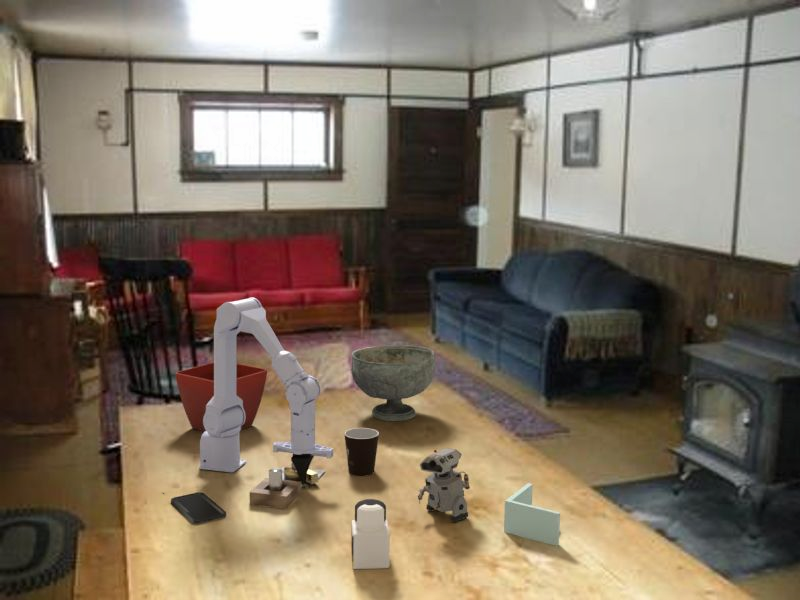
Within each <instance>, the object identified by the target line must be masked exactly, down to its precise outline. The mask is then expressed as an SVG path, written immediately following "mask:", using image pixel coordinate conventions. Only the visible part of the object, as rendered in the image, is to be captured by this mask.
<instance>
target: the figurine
mask: <svg viewBox="0 0 800 600" xmlns="http://www.w3.org/2000/svg"><path fill="white" fill-rule="evenodd" d="M462 455H463V454H462V453H461V452H460V451H459V450H458V449H456V448H455V449H454V448H449V447H446V448H444V449H442V450H439V451H437V449H434V450H433V453H432V454H430V455H428V456H426V457H425V458H424V459H423V460H422V461H421V462H420V463H419V467H420V470H421V471H424V472H428V473H430V474H429V475H427V478H426V477H425V479H424V480H425V481H424V482H425V485H424V486H423V488H421V489H419V491H418V492H419V493H418V495H417V499H418V501H419V502H418V504H421V501H423V496H424V495H425V492H426V493H428V497H427V504H426V510H427V511H429V512H433V511H436V510H437V511H439V512H440V513H441V512H442V513H444V512H451V515H450V521H451V522H452V523H453V522H454V523H455V524H456V523H458V522H460V521H461V520H462V521H464V520H466V519H467V518H468V517H469V511H468V503H467V500H466V498H465V490H469V489H470V482H469V481H470V480H469V474H468V473H466V472H465V471H457V470H454V469H456V468H457V467H458V465H459V463H460V460H461V458H462ZM462 473H463V475H462ZM464 489H465V490H464Z"/></svg>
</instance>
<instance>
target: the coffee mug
mask: <svg viewBox="0 0 800 600" xmlns="http://www.w3.org/2000/svg"><path fill="white" fill-rule="evenodd" d="M379 435H380V432H379V431H378V430H376V429H375V428H374V429H373V428H368V427H354V428H350V429H347V430H346V431H344V442H345V450H346V460H347V469H348V473H349V474H350V475H351V476H355V475H356V477H367V476H366V475H368V476H371V475H373V474H374V473H375V466H376V459H377V452H378V444H379ZM373 472H374V473H373ZM372 473H373V474H372Z"/></svg>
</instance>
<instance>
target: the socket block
mask: <svg viewBox="0 0 800 600" xmlns="http://www.w3.org/2000/svg"><path fill="white" fill-rule="evenodd" d="M301 495H302V487H301V482H297V481H289V480H282V491H273V490H269V477H265V478H264V479H263V480H261V481H260V482H259V483H258V484H256V485H255V487H253V488H252V489H251V490H250V491H249V505H251V506H256V507H257V506H258V507H259V506H260V507H265V508H266V507H268V508H275V509H283V510H288V509H289V507H291V506H292V505H293V504H294V502H295V501H296V500H297V499H298V498H299V497H301Z"/></svg>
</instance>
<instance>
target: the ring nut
mask: <svg viewBox="0 0 800 600" xmlns="http://www.w3.org/2000/svg"><path fill="white" fill-rule="evenodd" d="M309 469H310V468H308V471H307V478H306V482H308V483H310V484H313V483H314V484H316V483H318V482H319V479H318V473H316V472H314V471H311V470H309ZM284 477H285V478H287V479H292V480H299V476H298V473H297V470H296V468H295V466H294V464H293V462H291V464H289V465H286V466H285V468H284ZM314 484H313V485H314Z"/></svg>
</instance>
